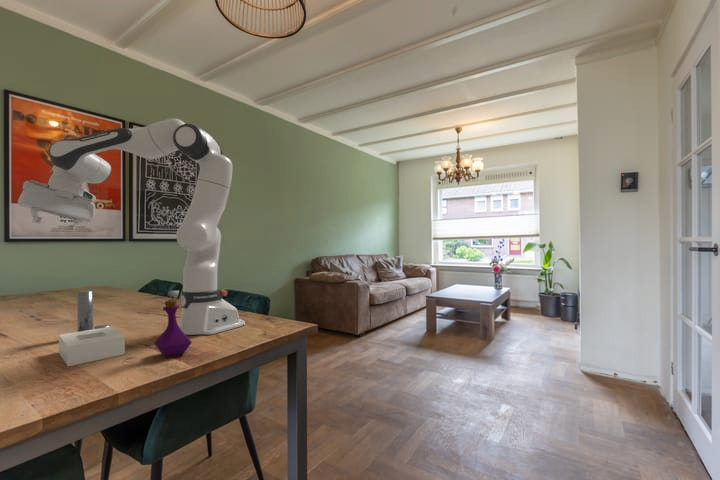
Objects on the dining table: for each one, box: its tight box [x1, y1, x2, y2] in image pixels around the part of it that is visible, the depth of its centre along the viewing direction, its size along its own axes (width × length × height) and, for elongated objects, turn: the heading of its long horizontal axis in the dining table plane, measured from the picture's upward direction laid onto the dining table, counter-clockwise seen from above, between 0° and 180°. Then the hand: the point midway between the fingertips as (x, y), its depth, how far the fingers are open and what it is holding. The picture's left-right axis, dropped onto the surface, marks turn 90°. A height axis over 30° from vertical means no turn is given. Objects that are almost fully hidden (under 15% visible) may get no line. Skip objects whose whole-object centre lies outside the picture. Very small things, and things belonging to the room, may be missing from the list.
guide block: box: [58, 326, 126, 367], centre depth 93 cm, size 12×16×5 cm
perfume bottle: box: [153, 290, 192, 358], centre depth 92 cm, size 8×8×18 cm
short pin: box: [94, 324, 112, 329], centre depth 105 cm, size 4×4×4 cm
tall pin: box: [76, 290, 94, 332], centre depth 109 cm, size 4×4×15 cm
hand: (54, 226), depth 112 cm, fingers open, 8 cm apart
